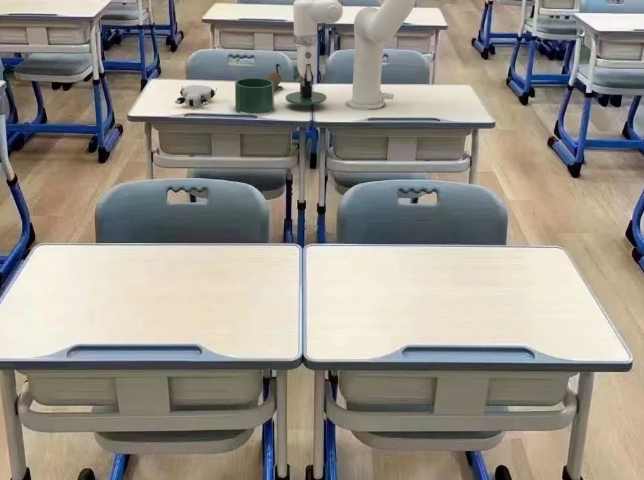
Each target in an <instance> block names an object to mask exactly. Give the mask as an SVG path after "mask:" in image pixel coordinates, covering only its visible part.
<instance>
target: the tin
mask: <svg viewBox="0 0 644 480" xmlns="http://www.w3.org/2000/svg"><path fill="white" fill-rule="evenodd" d="M234 100H235V111H236V112H237V113H238V114H241V113H243V114H252V115H254V114H255V115H257V114H258V115H259V114H261V115H262V114H267V113H270V112H272V111H273V110H274V109H275V93H274V83H273V81H271V80H268V78H260V77H246V78H240V79H237V80H236V81H235V82H234Z"/></svg>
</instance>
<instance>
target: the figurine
mask: <svg viewBox="0 0 644 480" xmlns="http://www.w3.org/2000/svg"><path fill="white" fill-rule="evenodd" d="M275 69H276V72H271V73H270V74H269V75H268V77H267V79H268V80H271V81H273V83H274V94H276V93H278V91H281V90H283V88H284V87H283V86H282V85H280V83H281V81H282V75H281V74H280V73H279V69H280V70H282V68H281V64H279V63H276V64H275Z"/></svg>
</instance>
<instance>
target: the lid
mask: <svg viewBox="0 0 644 480" xmlns="http://www.w3.org/2000/svg"><path fill="white" fill-rule="evenodd" d="M302 86H303V81H302ZM285 100H286V101H287V102H288V103H291V104H294V105H304V106H305V105H308V106H309V105H316V104H321V103H324V102H325V101H326V100H327V95H326V94H325V93H322V92H319V91H313V90H312V97H311V98H302V95H301V94H300V91H294V92H290V93H288V94H286V95H285Z"/></svg>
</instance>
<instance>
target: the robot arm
mask: <svg viewBox="0 0 644 480" xmlns="http://www.w3.org/2000/svg"><path fill="white" fill-rule="evenodd" d="M376 2H377V4H378V5H379V8H376V7H373V6H366V7H363V8H361V9H360V10H358V12H357V13H356V15H355V17H354V21H353V34H354V54H353V55H354V57H353V73H352V94H351V97H349V98H347V100H346V103H347V104H348V105H350V106H352V107H355V108H361V109H368V110H375V109H379V108H382V107H383V106H384V105H385V100H394V93H389V92H382V90H381V86H382V73H383V72H382V70H383V59H384V44H385V43H388V42H389V41H390V40H392V38H393V37H394V36H395V35H396V33H397V32H398V31H399V29H400V28H401V27H402V25H403V24H404V23H405V20H407V18H408V17H409V16H410V14H411V13H412V11H413V9H414V7H415V3H416V0H376ZM292 7H293V8H292V9H293V45H294V46H296V66H297V72H298V74H299V75H300V76H299V79H300V80H299V81H300V83H299V92H300V94H301V95H302V98H311V97H312V91H313V85H312V84H313V83H312V77H314V78H316V77H317V59H316V58H317V57H316V47H315V46H317V45H318V23H319V24H335V23H337V22H339V21H340V19H341V18H342V17H343V13H344V9H343V5H342V4H341V3H340V1H339V0H294V2H293V6H292ZM302 81H303V86H302Z"/></svg>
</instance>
